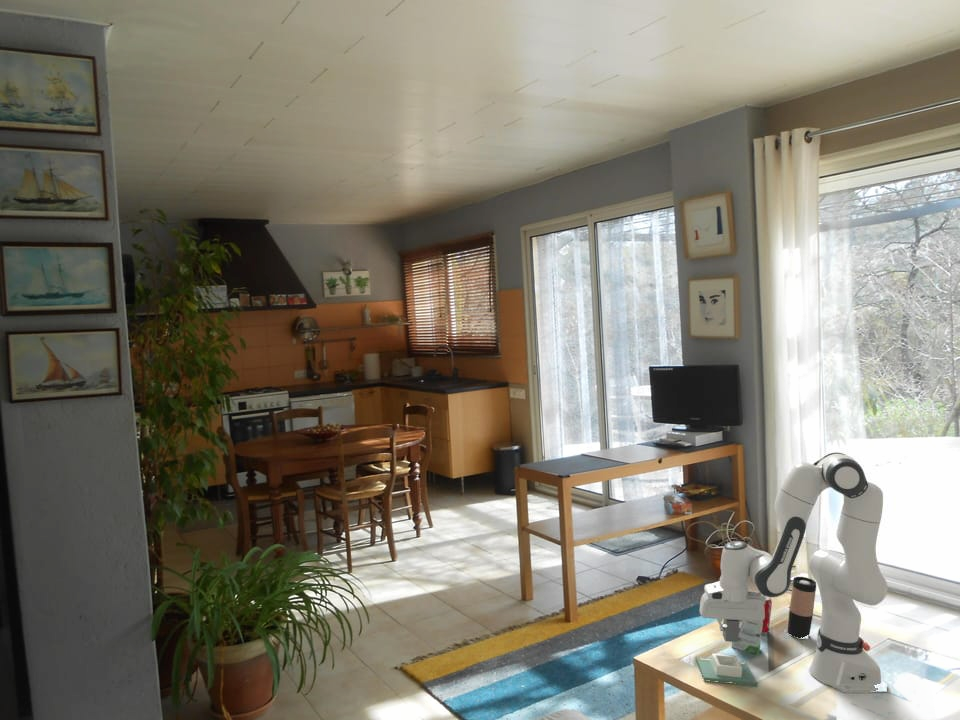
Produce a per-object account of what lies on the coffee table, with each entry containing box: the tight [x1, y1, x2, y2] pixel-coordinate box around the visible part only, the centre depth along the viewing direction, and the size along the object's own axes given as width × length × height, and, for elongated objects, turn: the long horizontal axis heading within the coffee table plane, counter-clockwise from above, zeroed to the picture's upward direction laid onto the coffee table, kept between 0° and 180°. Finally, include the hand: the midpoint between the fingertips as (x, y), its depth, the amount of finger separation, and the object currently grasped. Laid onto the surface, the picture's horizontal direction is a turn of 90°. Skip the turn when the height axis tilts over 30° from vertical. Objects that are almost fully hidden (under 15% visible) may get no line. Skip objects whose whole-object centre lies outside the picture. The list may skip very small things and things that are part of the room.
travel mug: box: [787, 576, 817, 638], centre depth 263 cm, size 8×8×20 cm
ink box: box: [731, 620, 763, 655], centre depth 251 cm, size 9×5×12 cm, turn 60°
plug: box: [722, 619, 739, 643], centre depth 243 cm, size 4×4×8 cm
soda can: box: [761, 596, 773, 635], centre depth 264 cm, size 7×7×13 cm
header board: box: [695, 653, 758, 687], centre depth 234 cm, size 16×12×4 cm
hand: (730, 630), depth 243 cm, fingers closed on plug, 4 cm apart
